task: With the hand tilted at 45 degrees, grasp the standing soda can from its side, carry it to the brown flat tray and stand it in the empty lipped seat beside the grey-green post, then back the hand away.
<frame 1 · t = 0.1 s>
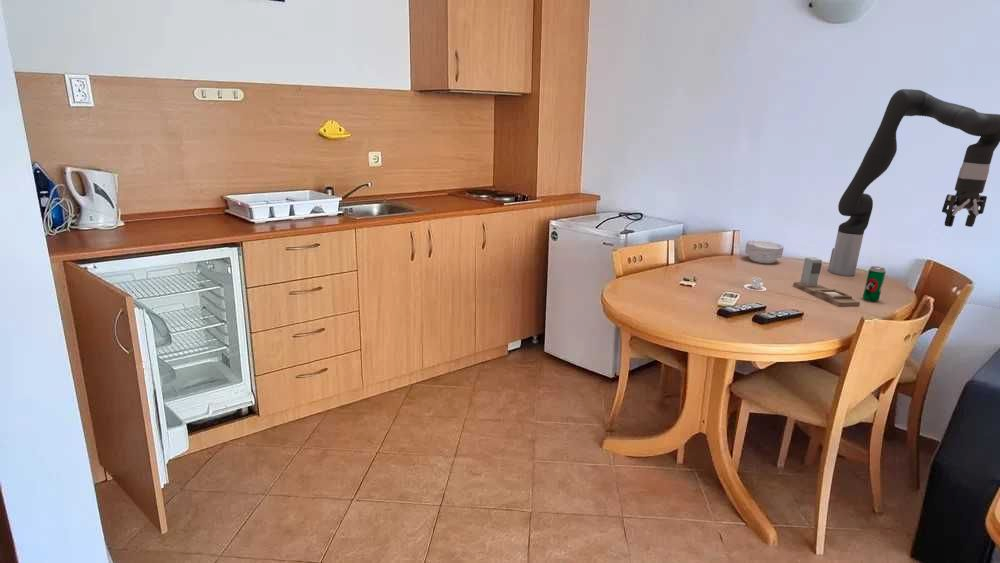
hand: (958, 226, 199), 29 cm above the table, tool pointing down, fingers open, 8 cm apart
brown flat tray: (824, 295, 216), on the table
soda can: (870, 300, 214), on the table
teacup and saucer: (763, 290, 222), on the table
paper bowls: (762, 261, 264), on the table
grey post: (807, 288, 225), resting on brown flat tray
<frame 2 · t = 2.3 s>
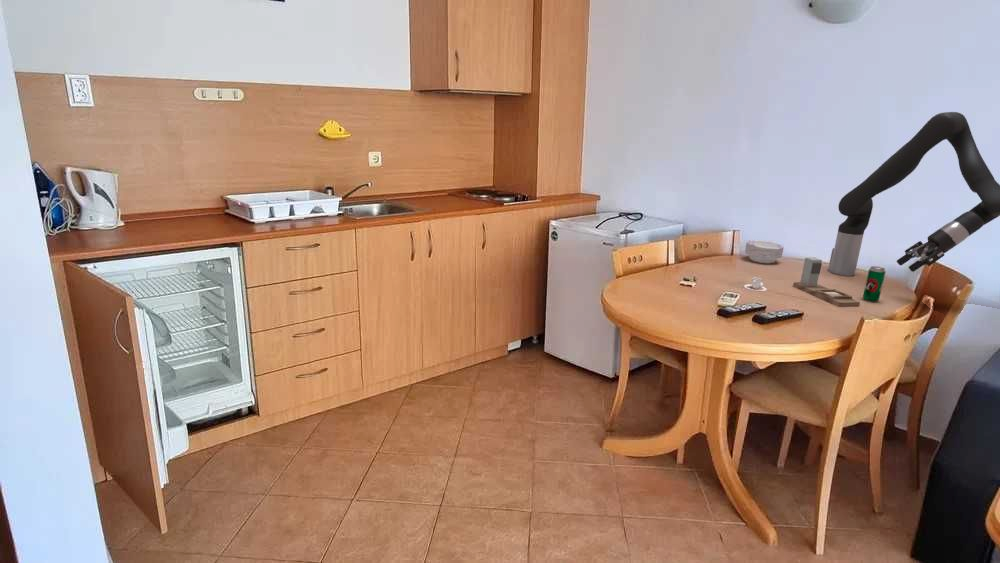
hand: (904, 266, 209), 13 cm above the table, tool tilted 45°, fingers open, 8 cm apart
nothing on the table moved.
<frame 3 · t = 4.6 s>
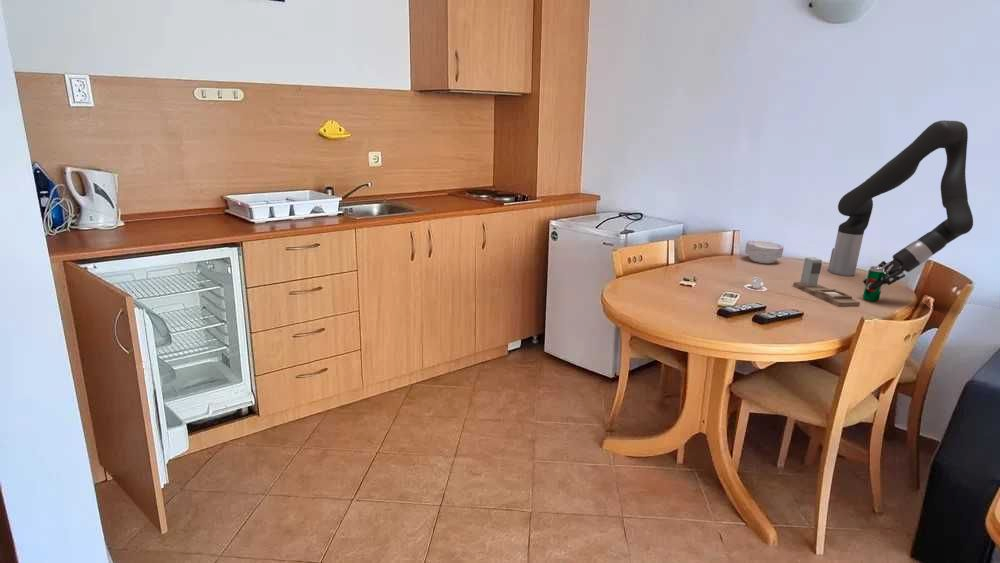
hand: (868, 285, 212), 5 cm above the table, tool tilted 45°, fingers closed on soda can, 5 cm apart
soda can: (870, 300, 214), on the table, touching gripper
everything else where it was.
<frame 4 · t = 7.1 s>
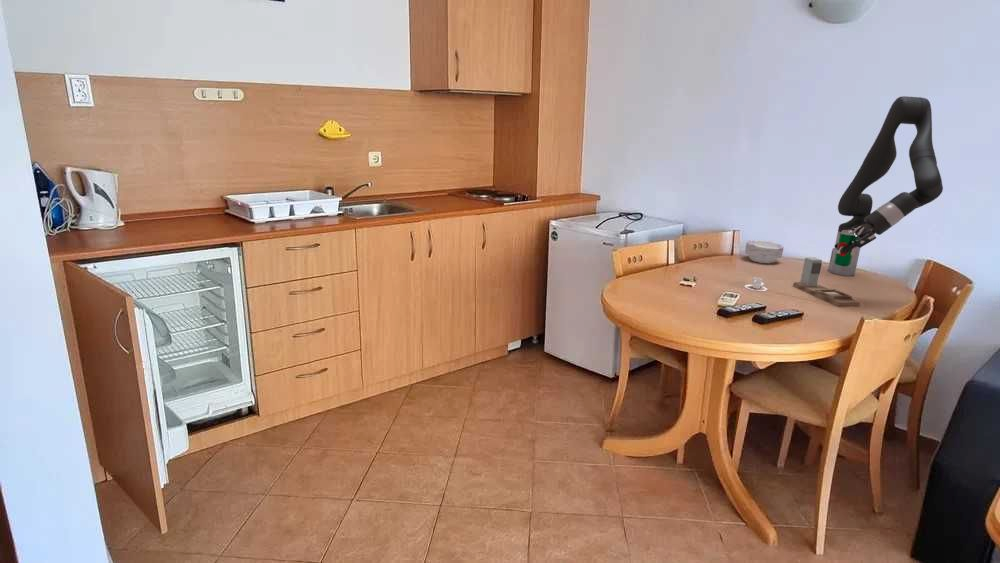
hand: (839, 249, 207), 18 cm above the table, tool tilted 45°, fingers closed on soda can, 5 cm apart
soda can: (841, 265, 209), point 13 cm above the table, touching gripper
everything else where it was.
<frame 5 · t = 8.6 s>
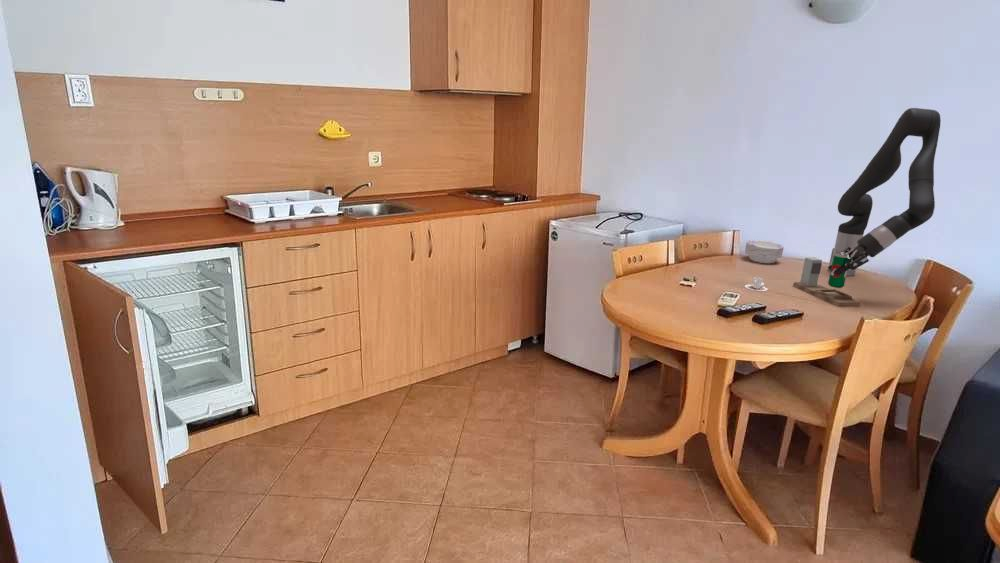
hand: (833, 271, 210), 10 cm above the table, tool tilted 45°, fingers closed on soda can, 5 cm apart
soda can: (835, 286, 211), point 5 cm above the table, touching gripper
everything else where it was.
when the fingers open (8 cm above the table, at t = 9.5 s): soda can stays where it is, resting on brown flat tray.
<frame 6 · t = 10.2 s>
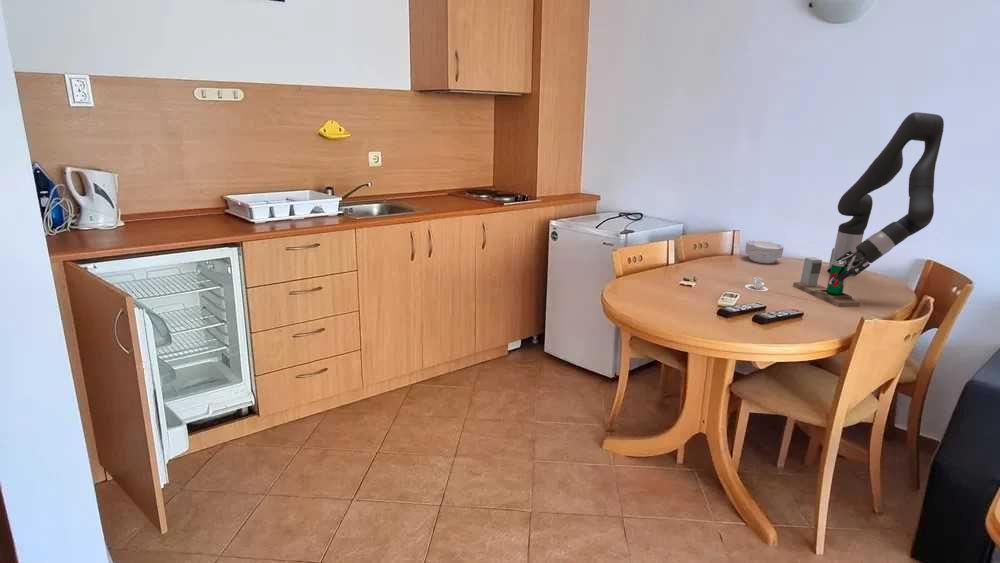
hand: (833, 276, 210), 8 cm above the table, tool tilted 45°, fingers open, 8 cm apart
soda can: (833, 295, 212), point 1 cm above the table, touching brown flat tray
everything else where it was.
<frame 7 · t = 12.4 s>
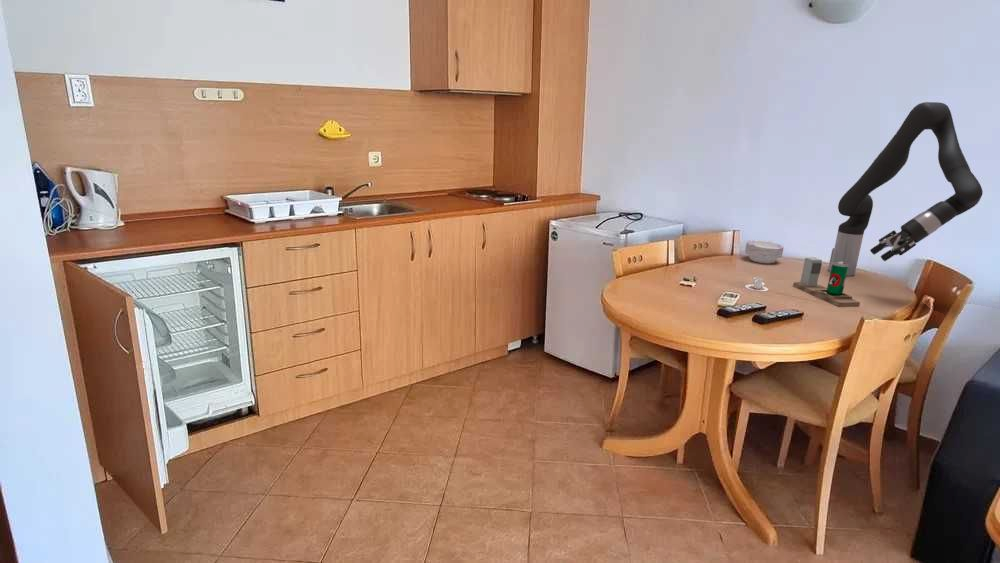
hand: (876, 255, 210), 16 cm above the table, tool tilted 45°, fingers open, 8 cm apart
nothing on the table moved.
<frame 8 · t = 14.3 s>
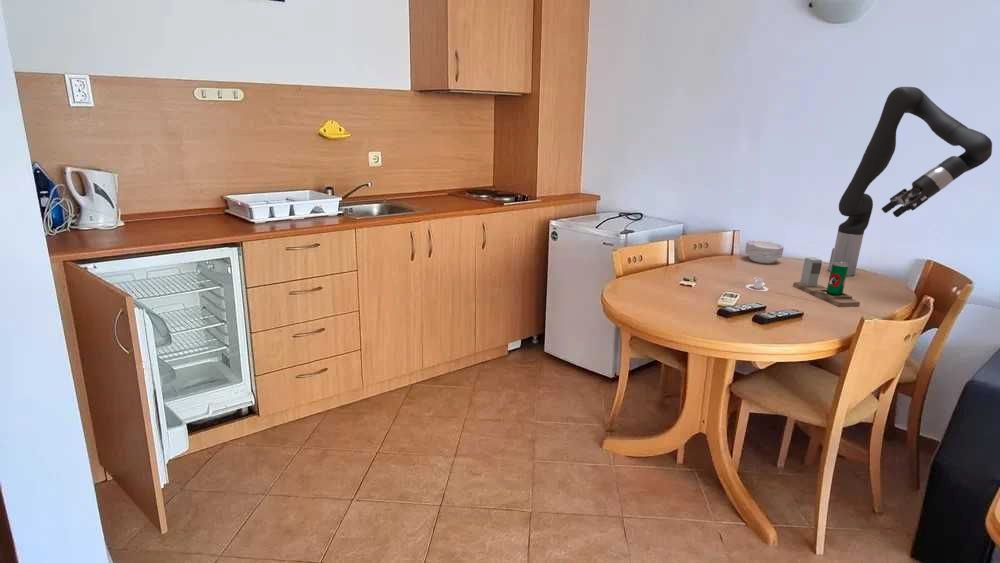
hand: (888, 213, 210), 31 cm above the table, tool tilted 45°, fingers open, 8 cm apart
nothing on the table moved.
at the end: soda can 0.2 cm from the target spot on the brown flat tray, point 1.4 cm above the brown flat tray's base; soda can tilted 0°; the gripper is holding nothing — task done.
